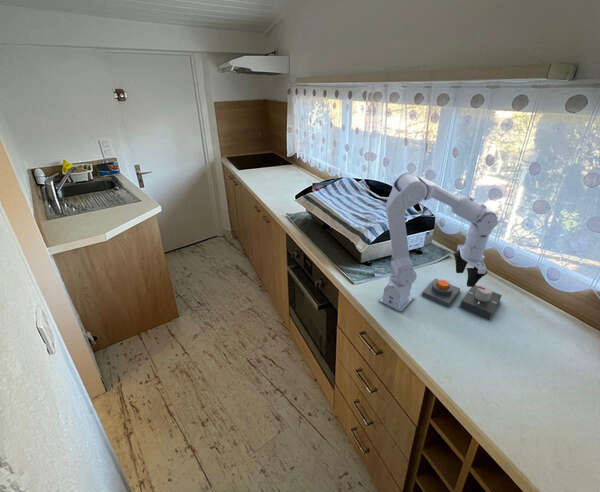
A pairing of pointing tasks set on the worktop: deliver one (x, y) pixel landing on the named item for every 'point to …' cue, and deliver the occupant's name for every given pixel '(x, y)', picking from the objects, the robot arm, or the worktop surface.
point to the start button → (443, 284)
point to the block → (441, 293)
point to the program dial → (483, 293)
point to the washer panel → (480, 303)
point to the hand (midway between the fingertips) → (464, 279)
